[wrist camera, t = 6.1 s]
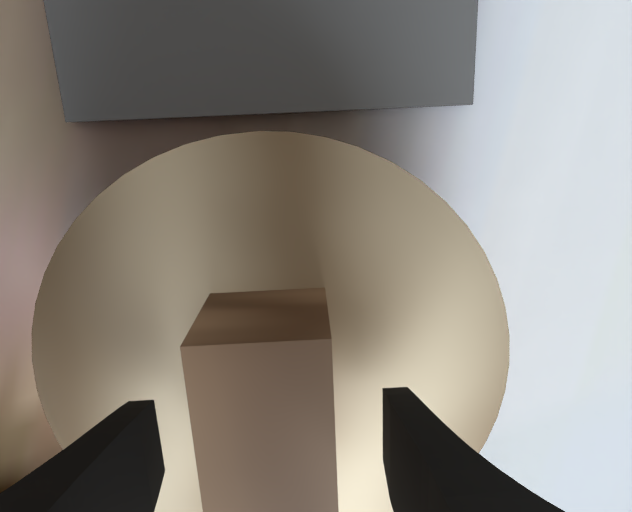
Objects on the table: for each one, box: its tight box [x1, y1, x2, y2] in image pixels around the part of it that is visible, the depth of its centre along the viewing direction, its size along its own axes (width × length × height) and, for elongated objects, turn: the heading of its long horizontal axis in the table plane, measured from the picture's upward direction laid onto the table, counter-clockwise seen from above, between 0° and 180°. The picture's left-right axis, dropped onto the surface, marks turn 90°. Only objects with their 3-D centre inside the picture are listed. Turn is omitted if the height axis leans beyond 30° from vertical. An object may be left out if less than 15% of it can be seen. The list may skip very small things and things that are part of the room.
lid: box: [32, 131, 509, 512], centre depth 12 cm, size 13×13×4 cm
